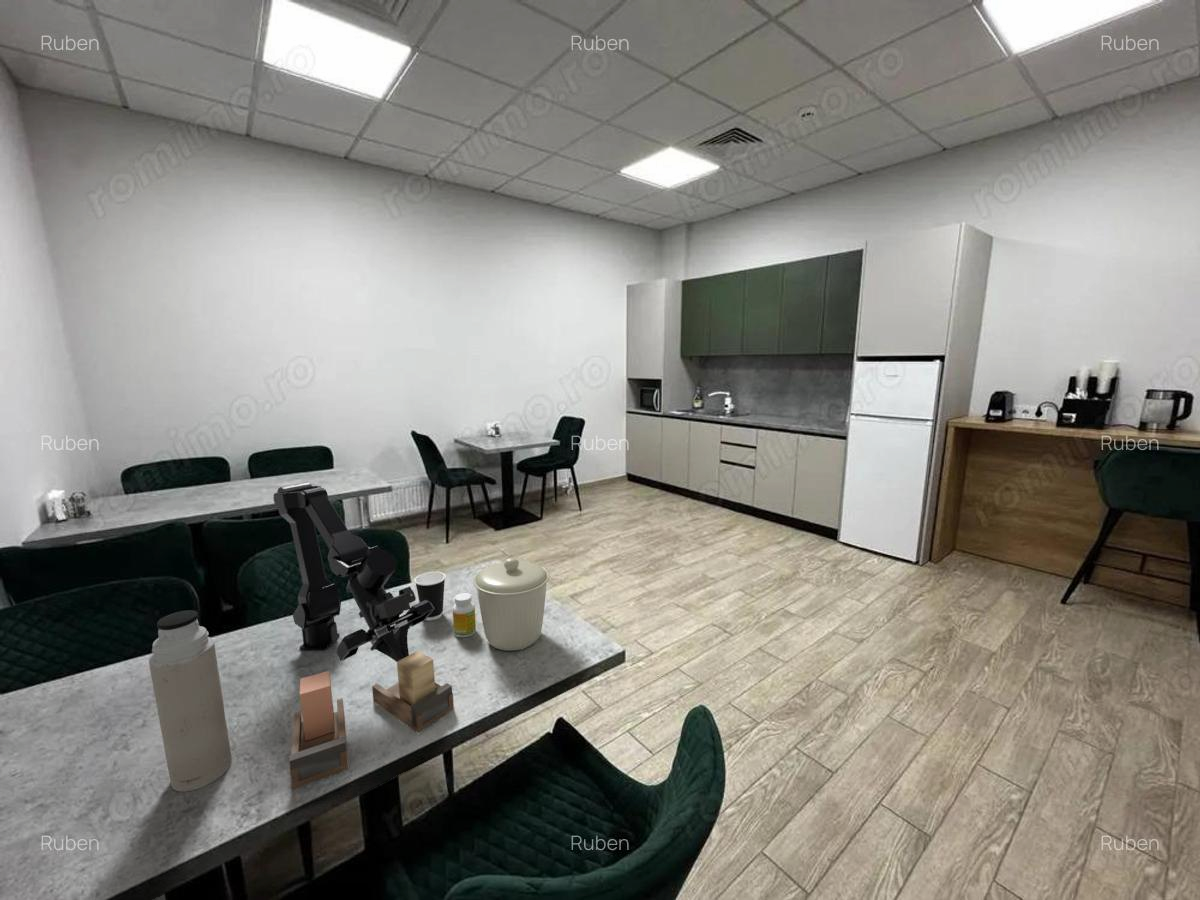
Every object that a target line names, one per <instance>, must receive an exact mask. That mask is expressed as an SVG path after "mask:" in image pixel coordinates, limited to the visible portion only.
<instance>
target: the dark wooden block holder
mask: <svg viewBox="0 0 1200 900" xmlns="http://www.w3.org/2000/svg"><path fill="white" fill-rule="evenodd" d="M336 706H337V711H334V726H335V732H331V733H328V734H325V735H322V736H319V737H316V738H313V739H310V740H307V741H305V734H304V726H303V718H302V710H298V711H295V712H293V725H292V739H291V740H292V741H291V752H290V753H291V754H289V756H288V757H289V760H288V761H289V772H290V780H291V787H292V790H295V789H298V788H301V787H303V786H306V785H309V784H312V783H314V782H317V781H319V780H323V779H325V778H328V777H331V776H334V775H336V774H340V773H342V772H344V771H348V770H349V760H348V759H349V757H348V746H347V743H348V742H347V733H346V732H347V731H346V717H345V708H344V698H343V697H342V698H338V699H337V700H336ZM311 782H312V783H311Z"/></svg>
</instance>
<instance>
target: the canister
mask: <svg viewBox="0 0 1200 900" xmlns="http://www.w3.org/2000/svg"><path fill="white" fill-rule="evenodd" d="M549 580H550V572H549V570H548V569H546V568H545V567H544V566H543V565H540V564H537V563H536V562H533V561H528V560H519V559H517V558H516V557H509V558H507V559H505V560H504V561H500V562H496V563H493V564H491V565H488V566H487V567H485V568H483V569H481V570H480V571H479V572H477V573H476V574H475V576H474V577H473V583H472V584H473V586H474V587H475V589H476V592H477V599H478V604H479V609H480V615H481V616H480V617H481V621H482V627H483V631H484V632H483V633H484V635H485V638H486V640H487V642H488V643H489V645H491V646H492V647H493V648H495V649H498V650H500V651H508V652H510V651H518V650H519V651H520V650H523V649H525V648H529V647H531V646H533V644H535V643H536V641H538V639H539V637H540V635H541V633H542V631H543V624H544V623H543V622H544V613H545V607H546V606H545V604H546V594H547V583H548V582H549Z"/></svg>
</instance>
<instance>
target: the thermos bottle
mask: <svg viewBox="0 0 1200 900" xmlns="http://www.w3.org/2000/svg"><path fill="white" fill-rule="evenodd" d="M198 618H199V613H198V612H197V611H196V610H194V609H193V610H192V609H191V610H190V609H189V610H181V611H177V612H173V613H170V614H168V615H166V616H163V617H162V618H160V619H159V620H158V621H157V622H156V627H157V629H158V630H157V634H158V638H156V639H155V640H154V641H153V643H152V649H151V652H152V654H151V655H150V656H149V658H148V664H149V665H148V666H149V670H150V676H151V681H152V682H151V683H152V687H153V694H154V698H155V705H156V709H157V710H156V711H157V715H158V719H159V725H160V726H159V727H160V731H161V737H162V743H163V748H164V754H165V759H166V760H165V761H166V765H167V770H168V776H169V781H170V787H171V788H172V790H174V791H176V792H183V793H184V792H190V791H194V790H198V789H201V788H203V787H206V786H207V785H210V784H211V783H213V782H214V781H216V780H217V779H219V778H221V777H222V775H224V774H225V772H227V770H229V768H230V767H231V764H232V763H233V757H232V756H233V755H232V749H231V743H230V737H229V730H228V725H227V720H226V712H225V704H224V698H223V697H224V696H223V691H222V685H221V684H222V683H221V677H220V672H219V665H218V664H219V663H218V659H217V652H216V645H215V641H214V639H213V637H210V636H209V635H210V634H209V631H208V630H207V628H206V627H204V626H202V625H201V626H200V623H199V621H198Z"/></svg>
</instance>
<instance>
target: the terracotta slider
mask: <svg viewBox="0 0 1200 900" xmlns="http://www.w3.org/2000/svg"><path fill="white" fill-rule="evenodd" d="M330 675H331V673H330V671H329V670H327V671H323V672H319V673H317V674H313V675H308V676H305V677H302V678H301V677H300V681H299V683H300V684H299V698H300V699H299V701H300V708H301V709H300V710H301V719H302V722H303V726H304V734H305V741H307V740H310V739H313V738H316V737H319V736H322V735H325V734H328V733H331V732H335V726H334V712H335V710H334V704H333V703H334V702H333V695H332V694H333V693H332V692H333V691H332V686H331V676H330Z"/></svg>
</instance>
